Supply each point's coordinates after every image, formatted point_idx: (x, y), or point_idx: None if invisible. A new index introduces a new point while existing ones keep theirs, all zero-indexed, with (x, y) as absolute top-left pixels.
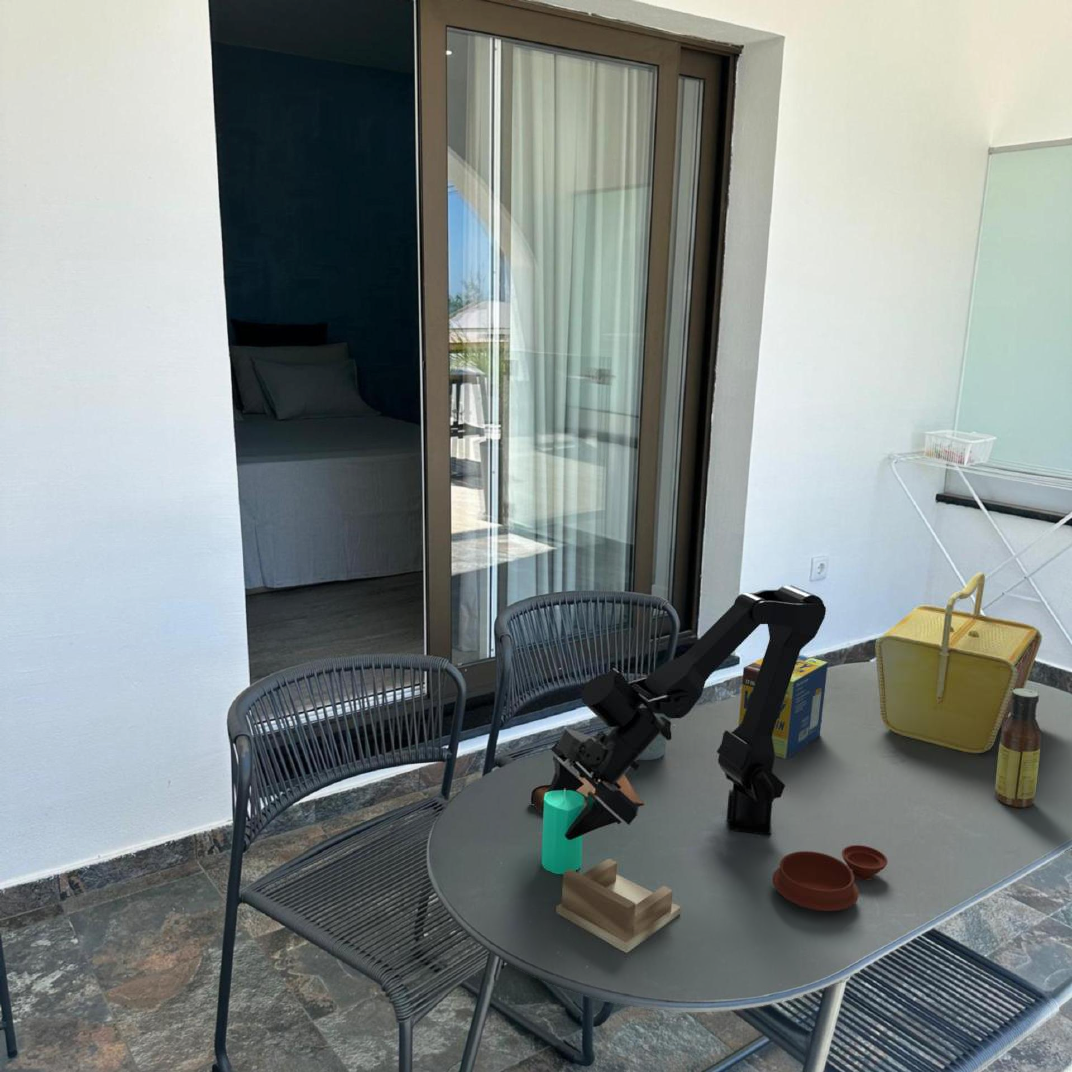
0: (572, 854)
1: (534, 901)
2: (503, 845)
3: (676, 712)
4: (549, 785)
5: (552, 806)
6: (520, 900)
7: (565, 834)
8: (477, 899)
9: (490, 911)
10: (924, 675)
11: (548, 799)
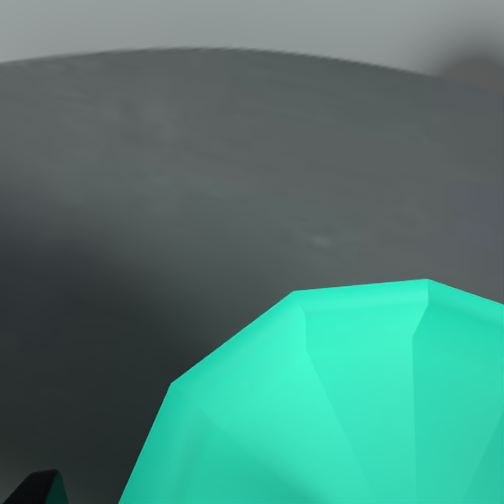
0: None
1: (13, 291)
2: (447, 279)
3: None
4: None
5: (238, 338)
6: (43, 242)
7: (41, 473)
8: (108, 114)
9: (22, 133)
10: None
11: (475, 366)
